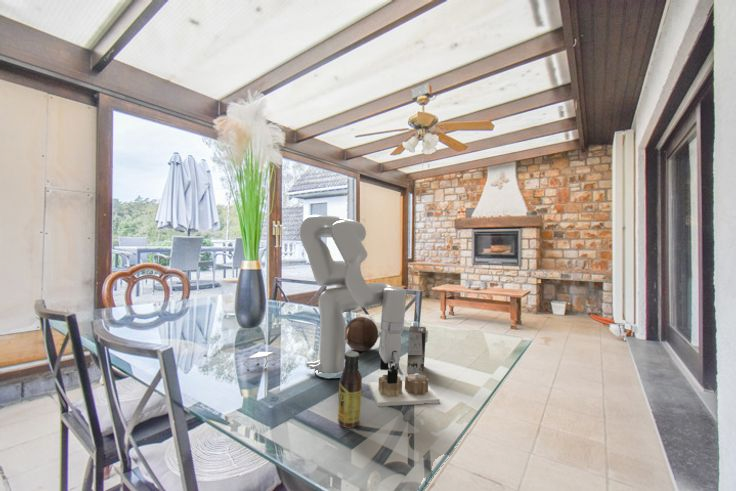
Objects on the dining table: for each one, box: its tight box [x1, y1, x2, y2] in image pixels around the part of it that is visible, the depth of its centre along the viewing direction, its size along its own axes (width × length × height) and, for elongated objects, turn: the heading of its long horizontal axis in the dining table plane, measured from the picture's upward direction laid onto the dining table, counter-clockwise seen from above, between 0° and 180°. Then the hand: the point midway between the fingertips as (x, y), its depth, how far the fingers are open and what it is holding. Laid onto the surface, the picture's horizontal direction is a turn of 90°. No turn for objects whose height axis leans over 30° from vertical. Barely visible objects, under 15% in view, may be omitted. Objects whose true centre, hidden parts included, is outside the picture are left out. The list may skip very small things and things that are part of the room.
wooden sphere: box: [345, 316, 379, 352], centre depth 153 cm, size 15×15×15 cm
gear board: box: [368, 373, 440, 407], centre depth 114 cm, size 20×14×7 cm
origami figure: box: [242, 351, 278, 369], centre depth 131 cm, size 12×8×5 cm
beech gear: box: [378, 374, 403, 397], centre depth 112 cm, size 7×7×4 cm
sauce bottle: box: [337, 350, 363, 429], centre depth 95 cm, size 7×6×20 cm
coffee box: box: [406, 325, 427, 376], centre depth 134 cm, size 9×6×16 cm
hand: (388, 376), depth 113 cm, fingers open, 9 cm apart
